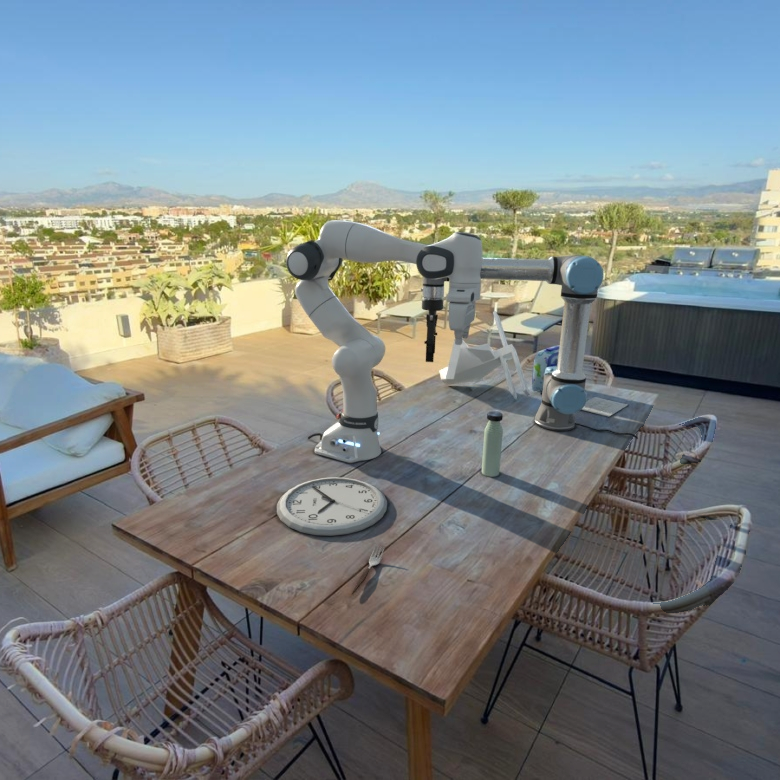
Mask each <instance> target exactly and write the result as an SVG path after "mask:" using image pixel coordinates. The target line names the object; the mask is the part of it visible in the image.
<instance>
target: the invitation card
mask: <svg viewBox="0 0 780 780" xmlns="http://www.w3.org/2000/svg"><path fill="white" fill-rule="evenodd" d="M628 406H629V404H627V403H623V402H618V401H614V400H609V399H605V398H601V397H596V396H593V397H592V398H590V399H587V401H586V404H585V406H584V407H583V408H582V409H581V410H580V411H584V412H587V413H593V414H596V415H600V416H604V417H608V418H609V417H611V416H613V415H614V414H616V413H617V412H619V411H621V410H623V409H624V408H626V407H628Z"/></svg>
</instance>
